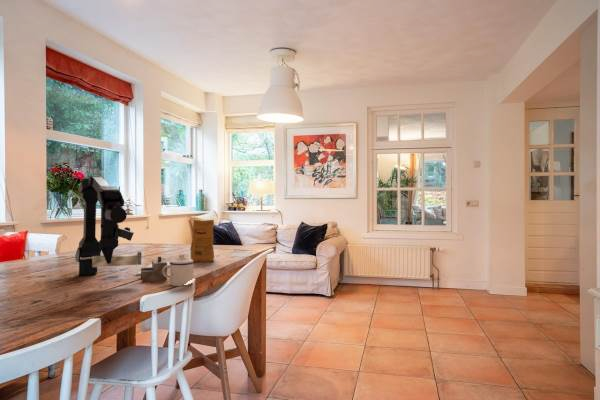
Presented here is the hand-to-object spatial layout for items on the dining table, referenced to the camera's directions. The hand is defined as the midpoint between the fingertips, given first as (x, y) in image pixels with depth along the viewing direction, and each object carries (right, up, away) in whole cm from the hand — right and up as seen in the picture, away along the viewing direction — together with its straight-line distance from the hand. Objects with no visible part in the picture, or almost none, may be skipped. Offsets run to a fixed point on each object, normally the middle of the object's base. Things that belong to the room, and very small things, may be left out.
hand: (108, 262), depth 147 cm
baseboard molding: (+4, -10, +36) cm, 37 cm away
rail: (+2, -1, +1) cm, 3 cm away
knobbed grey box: (+11, -9, +14) cm, 20 cm away
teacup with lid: (+24, -9, +5) cm, 27 cm away
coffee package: (+20, -9, +61) cm, 65 cm away
